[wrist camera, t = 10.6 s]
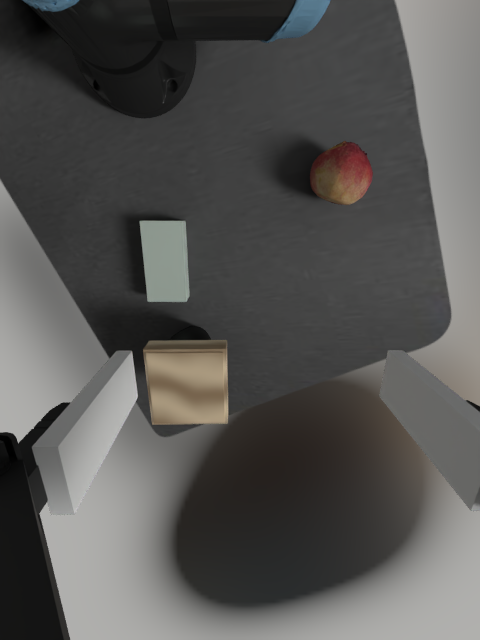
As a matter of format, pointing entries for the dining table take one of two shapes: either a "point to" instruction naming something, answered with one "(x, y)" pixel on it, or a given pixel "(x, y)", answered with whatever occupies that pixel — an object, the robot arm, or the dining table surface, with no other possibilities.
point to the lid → (187, 381)
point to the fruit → (341, 174)
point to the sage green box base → (165, 260)
